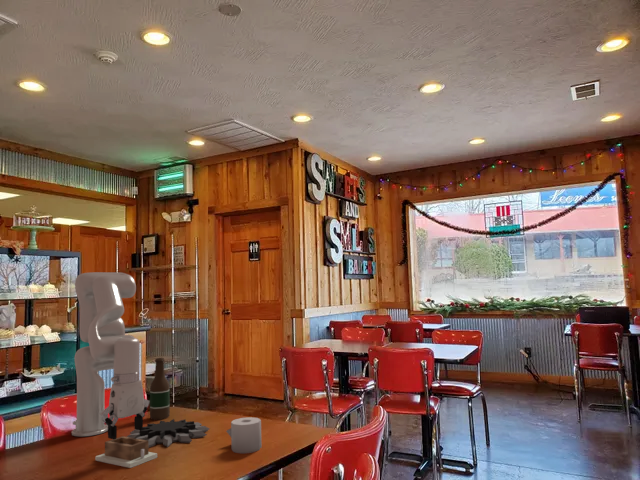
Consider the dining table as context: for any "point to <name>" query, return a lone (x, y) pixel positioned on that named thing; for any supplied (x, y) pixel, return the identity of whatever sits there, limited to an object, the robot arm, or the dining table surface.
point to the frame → (126, 448)
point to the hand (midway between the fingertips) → (125, 434)
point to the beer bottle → (159, 393)
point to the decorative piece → (170, 432)
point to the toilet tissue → (245, 435)
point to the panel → (126, 462)
